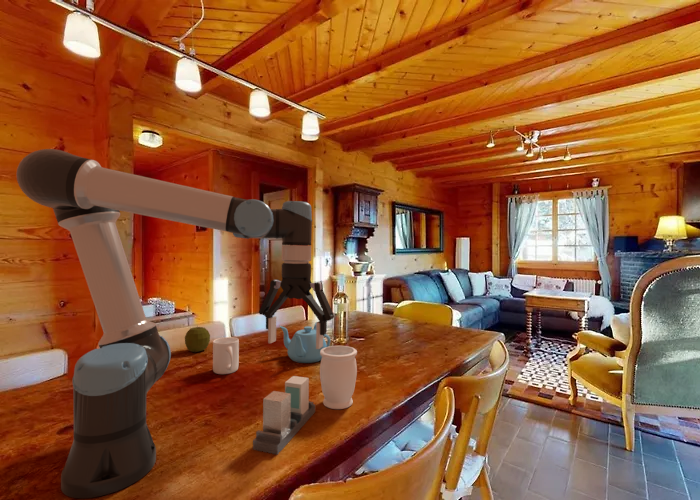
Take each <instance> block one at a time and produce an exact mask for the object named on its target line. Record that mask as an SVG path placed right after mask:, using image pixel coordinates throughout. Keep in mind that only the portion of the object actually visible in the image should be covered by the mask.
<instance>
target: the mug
mask: <svg viewBox="0 0 700 500" xmlns="http://www.w3.org/2000/svg"><path fill="white" fill-rule="evenodd" d="M239 342H240V341H239V338H238V337H232V336H228V337H226V336H225V337H220V338H216V339H213V341H212V371H213V373H214V374H216V375H217V374H218V375H229V374H232V373H235V372H236V371H238V369H239V363H240V362H239V357H240V356H239V354H240V352H239V351H240V350H239V349H240V343H239Z"/></svg>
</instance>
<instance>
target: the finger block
mask: <svg viewBox="0 0 700 500" xmlns="http://www.w3.org/2000/svg"><path fill="white" fill-rule="evenodd" d="M309 384H310V379H309V377H306V376H304V377H303V376H297V375H293V376H291V377H290V378H289V379H287V380H286V381H285V382H284V393H290V394H291V412H295V413H300V414H302V415H303V414H304V413H305V412H306V411H307V410H308V409H309V401H310V400H309V398H310V395H309V394H310V392H309V391H310V389H309V388H310V385H309Z"/></svg>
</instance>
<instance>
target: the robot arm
mask: <svg viewBox="0 0 700 500" xmlns="http://www.w3.org/2000/svg"><path fill="white" fill-rule="evenodd" d="M15 174H16V181H17V183H18V186H19V188H20V189H21V191H22V192H23V194H24V195H26V197H28V198H29V199H30V200H32V201H33V202H35V203H37V204H38V205H40V206H44V207H48V208H51V209H52V210H53V214H54V216H55V218H56V221H57V224H58V226H60V227H61V228H63V229H65V230H67V231H68V232H69V233H70V236H71V239H72V241H73V244H74V248H75V251H76V254H77V257H78V260H79V263H80V265H81V269H82V273H83V275H84V278H85V281H86V285H87V287H88V290H89V292H90V296H91V299H92V301H93V305H94V307H95V311H96V314H97V317H98V321H99V324H100V326H101V329H102V332H103V335H102V336H101V338H100V339H99V341H98V344H97V345H98V346H99V348H94V349H92V350H90V351H88V352H86V353H84V354H83V355H82V356H81V357H79V359H77V361H76V363H75V365H74V369H73V377H72V379H71V380H72V391H73V393H72V394H73V398H72V399H73V441H72V444H71V447H70V450H69V453H68V455H67V459H66V462H65V464H64V467H63V469H62V471H61V475H60V490H61V492H62V494H63V495H65V496H67V497H69V498H74V499H91V498H96V497H101V496H107V495H110V494H112V493H113V494H114V493H116V492H119V491H121V490H123V489H125V488H128V487H129V486H131V485H133V484H135V483H136V482H138V481H139V480H141V479H142V478H144V477H145V476H146V475H147V474H148V473H149V472H151V470H152V469H153V467H154V466H155V464H156V460H157V449H156V445H155V442H154V440H153V437H152V434H151V432H150V429H149V427H148V424H147V395H148V392H149V391H150V390H151V388H152V387H153V386H154V384H156V382H158V381H159V380H160V379H161V378H162V376H164V374H165V372H166V370H167V368H168V366H169V364H170V361H171V356H172V352H171V351H172V350H171V346H170V345H169V342H168V340H166V338H165V337H163V335H160V333H159V331H158V330H159V329H158V328H157V323H155V322H153V321H150V320H148V318H147V316H146V315H145V314H146V313H145V310H144V308H143V305H142V302H141V299H140V296H139V295H140V294H139V293H138V290H137V289H138V288H137V286H136V283H135V281H134V280H135V279H134V277H133V274H132V271H131V267H130V265H129V261H128V257H127V255H126V252H125V249H124V247H123V243H122V239H121V237H120V233H119V230H118V227H117V220H118V219H119V218H120V216H121V212H126V213H130V214H136V215H140V216H146V217H150V218H157V219H161V220H166V221H171V222H176V223H181V224H187V225H191V226H198V227H202V228H208V229H213V230H217V231H222V232H228V233H232V235H233V237H235V238H236V239H237V238H241V239H247V240H249V239H276V240H277V239H280V240H281V261H282V264H281V280H279V279H272V280H270V284H269V289H268V292H267V293H266V295H265V298H264V300H263V302H262V304H261V306H260V309H259V311H258V314H259V315H263V316H264V317H265V330H267V331H268V332H267V337H268V338H267V343H268V344H272V343H274V342H276V341H277V316H275V313H277V312H278V310H279V309H280V308H281V307H282V305H283V304H284V303H285V302H286V300H287V299H290V300H291V299H296V300H303V302H305V303H306V305H307V306H308V307H309V309H310V310H311V311H312V313H313V314H314V315H315V317H316V318H317V319H318V321H316V322H317V323H316V322H315V323H316V349H320V348H321V347H323V338H324V336H323V335H325V334H327V329H328V328H327V327H328V326H327V325H328V322H329V321H331V320H333V319H334V318H335V315H334V313H333V310H332V307H331V305H330V302H329V301H328V298H327V297H326V294H325V292H324V285H323V281H317V282H312V279H311V277H312V264H311V263H310V262H311V261H312V240H313V239H312V235H313V234H312V233H313V231H312V230H313V219H312V217H313V215H312V205H311V204H310V203H308V202H307V201H299V200H293V201H292V200H287V201H284V202H283V203H282V206H281V208H270V206H269V205H268V204H267V203H265V202H264V201H262V200H259V199H253V198H252V199H244V198H240V197H235V196H232V195H228V194H223V193H218V192H215V191H210V190H204V189H201V188H196V187H193V186H188V185H184V184H183V185H182V184H177V183H174V182H169V181H165V180H160V179H156V178H151V177H147V176H143V175H137V174H133V173H129V172H125V171H119V170H115V169H111V168H106V167H102V166H101V164H100V163H99V161H97V160H96V159H95V160H94V159H90V158H87V157H82V156H78V155H76V154H73V153H70V152H69V151H65V150H61V149H57V148H56V149H54V148H45V149H38V150H35V151H33V152H30V153H28V154H27V155H26V156H24V157H23V158H22V159H21V160H20V162H19V163H18V166H17V168H16V173H15ZM120 211H121V212H120ZM280 288H281V289H282V292H281V293H280V294H279V295H278V298H277V299H275V297H276V295H277V294H278V291H279V289H280ZM311 289H312V290H313V292H314V293H315V296H316V298H317V300H318V302H317V301H316V300H315V298H314V295H313V294H312V293H311V291H310V290H311ZM274 300H275V301H274ZM273 301H274V302H273Z"/></svg>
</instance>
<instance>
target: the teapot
mask: <svg viewBox="0 0 700 500" xmlns="http://www.w3.org/2000/svg"><path fill="white" fill-rule="evenodd" d="M317 322H318V321H316V322H315V323H314V325H313V327H312V326H309V325H306V326H304V327H303V329H300V330H297V331H296V332H295V333H294V334H293V336H292V338H290V336H289V332H288V328H286V327H284V326H282V325H279V328H280V329H281V330H282V332H283V345H284V347H285V348H286V349H287V355H288V357H289V358H290V359H291V360H292V361H293V362H295V363H300V364H312V363H318V362H319V361H320V362H321V359H322V356H321V355H320V351H321V349H323V348H325V347H329V346H331V337H330V335H328V334H327V333H326V334H325V335H323V347H321V348H320V349H316V323H317ZM312 328H313V329H312ZM325 338H326V339H327V340H325ZM326 341H327V342H326Z"/></svg>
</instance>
